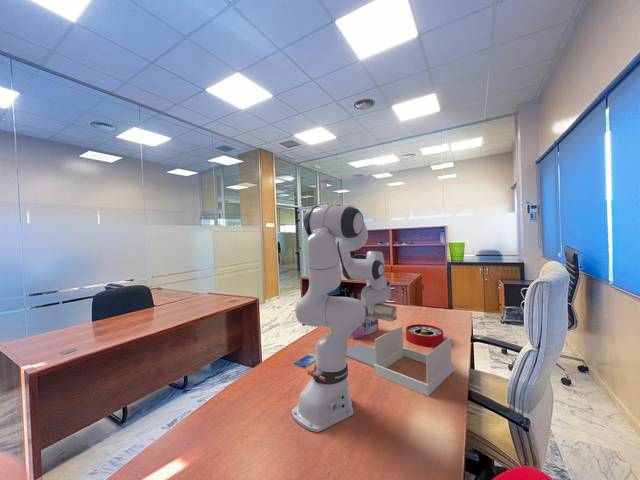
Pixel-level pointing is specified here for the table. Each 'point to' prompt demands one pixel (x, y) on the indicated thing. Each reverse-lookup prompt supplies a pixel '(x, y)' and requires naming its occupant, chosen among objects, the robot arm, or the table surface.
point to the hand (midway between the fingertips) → (376, 312)
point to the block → (383, 312)
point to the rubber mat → (361, 354)
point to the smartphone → (306, 361)
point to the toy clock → (424, 335)
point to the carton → (436, 360)
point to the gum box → (366, 327)
